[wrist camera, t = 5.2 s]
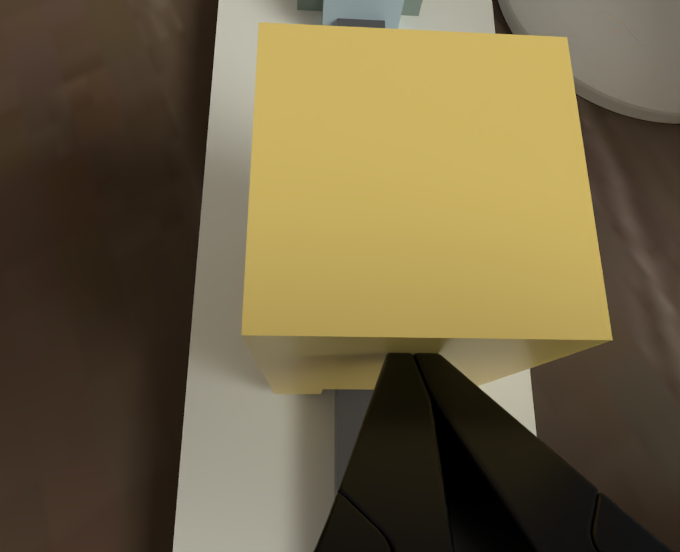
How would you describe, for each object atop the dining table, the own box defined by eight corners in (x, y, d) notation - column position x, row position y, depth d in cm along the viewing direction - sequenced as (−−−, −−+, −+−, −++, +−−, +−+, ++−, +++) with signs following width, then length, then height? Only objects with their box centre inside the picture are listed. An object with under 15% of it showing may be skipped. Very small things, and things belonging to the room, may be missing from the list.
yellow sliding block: (452, 395, 16) (615, 340, 7) (272, 393, 15) (237, 335, 7) (443, 232, 17) (570, 37, 9) (278, 227, 17) (255, 22, 9)
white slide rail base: (573, 1000, 13) (800, 1468, 7) (144, 1027, 12) (-4, 1564, 6) (478, -9, 22) (543, -177, 16) (227, -22, 21) (198, -203, 15)
